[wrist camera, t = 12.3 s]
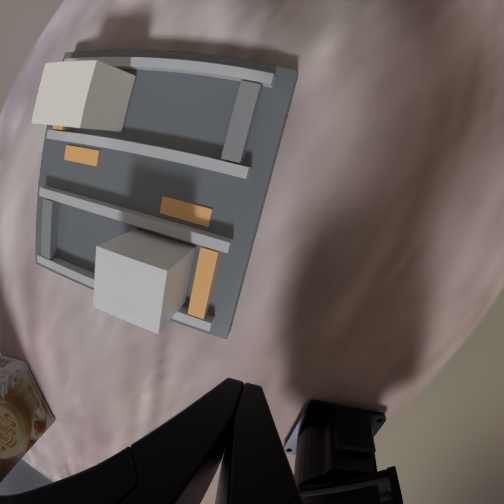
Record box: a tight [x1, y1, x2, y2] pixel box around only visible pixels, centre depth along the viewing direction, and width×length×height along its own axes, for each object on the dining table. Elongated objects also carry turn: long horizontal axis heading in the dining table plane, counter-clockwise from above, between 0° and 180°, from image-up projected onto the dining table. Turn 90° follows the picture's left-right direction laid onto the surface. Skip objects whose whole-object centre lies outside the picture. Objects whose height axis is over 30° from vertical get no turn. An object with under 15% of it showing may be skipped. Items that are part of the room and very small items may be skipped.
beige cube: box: [32, 60, 136, 132], centre depth 14 cm, size 4×4×4 cm
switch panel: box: [36, 50, 298, 339], centre depth 17 cm, size 16×16×2 cm
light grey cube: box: [94, 229, 196, 334], centre depth 16 cm, size 4×4×4 cm
